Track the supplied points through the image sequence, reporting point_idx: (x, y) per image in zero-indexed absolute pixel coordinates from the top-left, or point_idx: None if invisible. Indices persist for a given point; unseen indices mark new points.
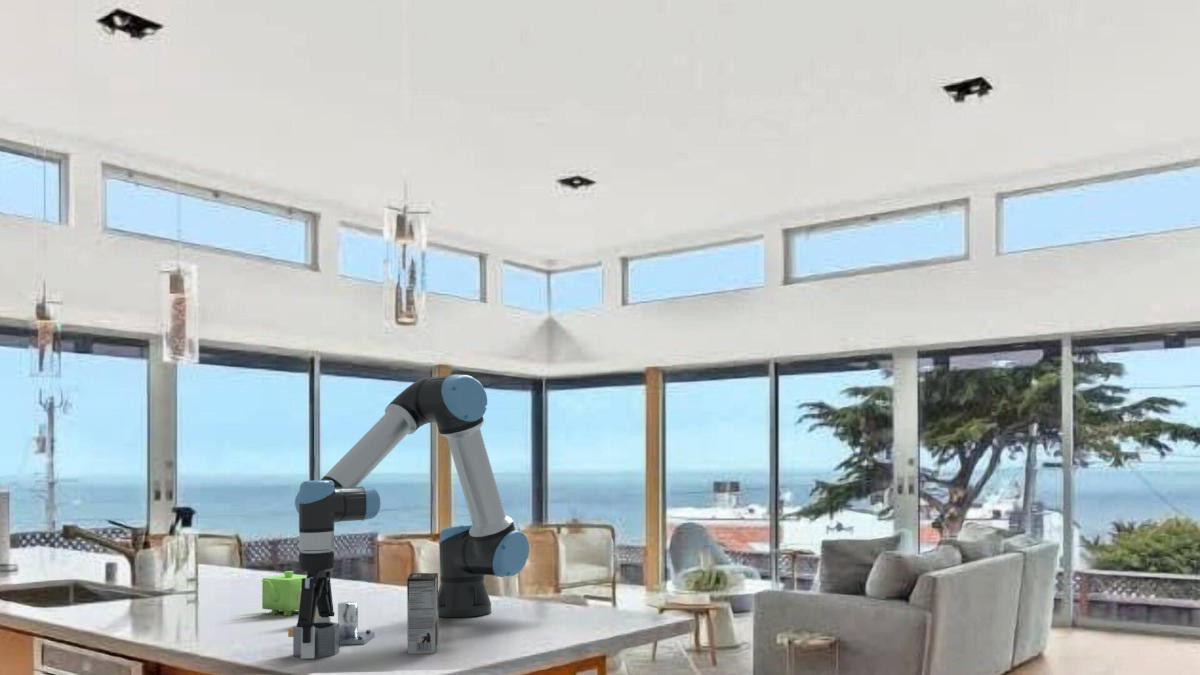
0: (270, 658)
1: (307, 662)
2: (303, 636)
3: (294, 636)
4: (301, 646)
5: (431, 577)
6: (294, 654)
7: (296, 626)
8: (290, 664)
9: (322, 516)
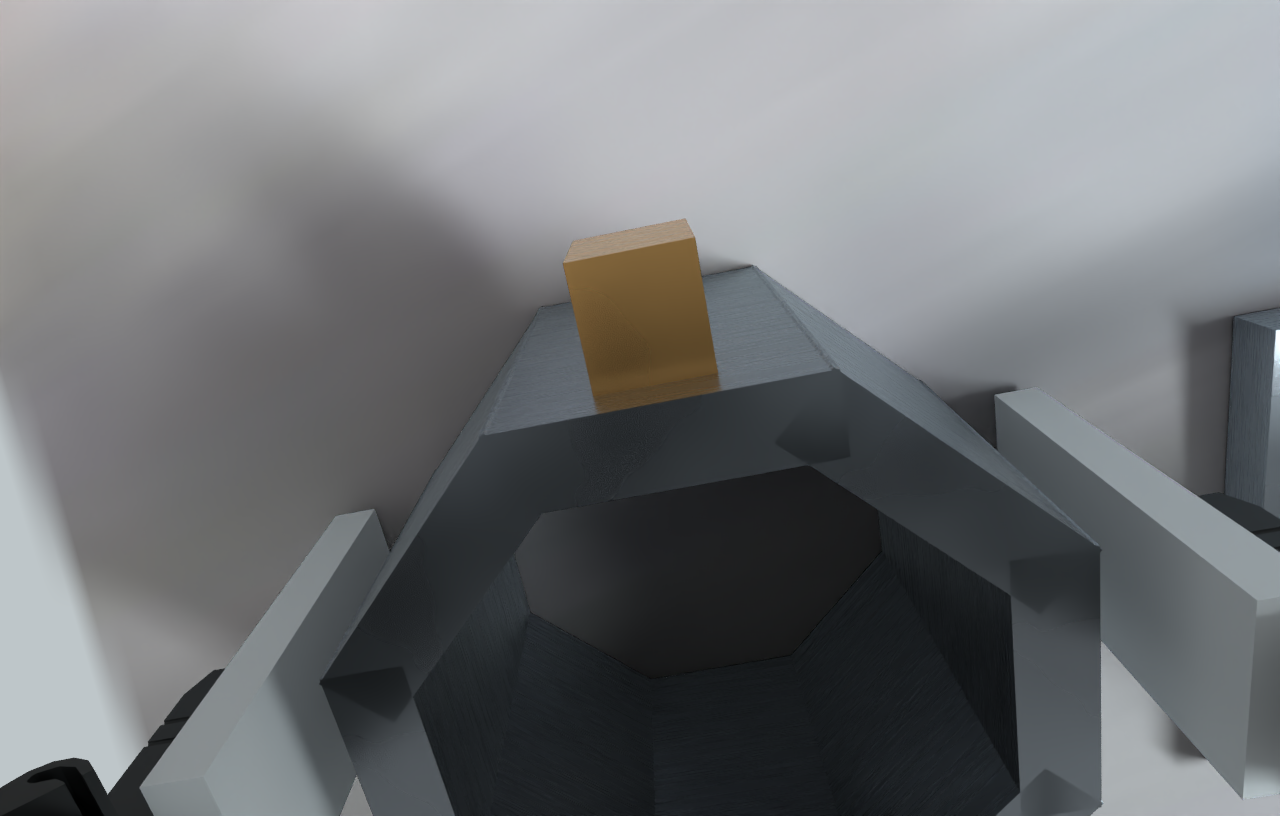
0: (341, 74)
1: (243, 630)
2: (156, 749)
3: (489, 409)
4: (282, 596)
5: None
6: (523, 335)
7: (601, 439)
8: (99, 511)
9: None
